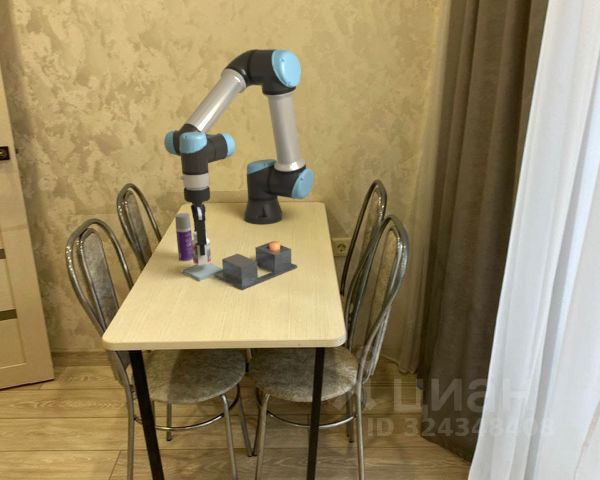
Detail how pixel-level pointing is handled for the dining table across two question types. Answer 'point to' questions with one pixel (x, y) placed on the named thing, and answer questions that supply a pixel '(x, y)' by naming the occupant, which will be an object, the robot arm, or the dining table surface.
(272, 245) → the orange oval piece
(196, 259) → the pill bottle
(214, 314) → the dining table surface
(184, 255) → the container
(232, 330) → the dining table surface
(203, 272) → the pad
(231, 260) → the housing
